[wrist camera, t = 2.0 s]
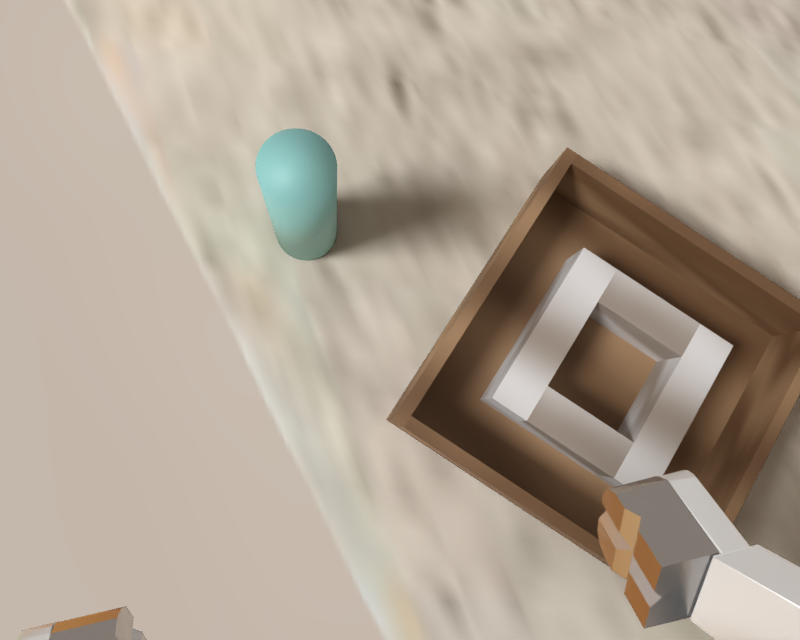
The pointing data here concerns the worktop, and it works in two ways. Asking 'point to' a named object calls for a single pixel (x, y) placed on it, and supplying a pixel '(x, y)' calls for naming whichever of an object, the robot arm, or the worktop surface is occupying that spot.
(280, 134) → the peg
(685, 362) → the box
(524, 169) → the worktop surface
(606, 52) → the worktop surface
